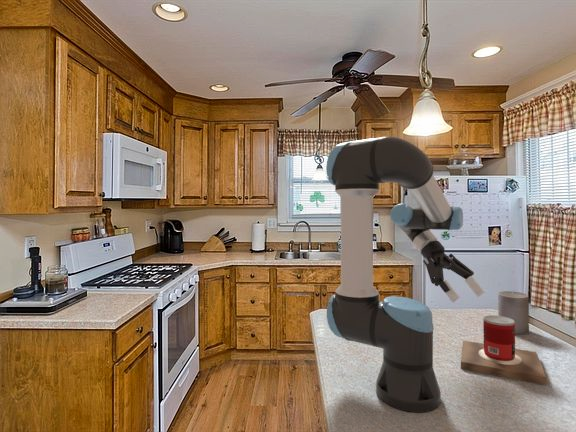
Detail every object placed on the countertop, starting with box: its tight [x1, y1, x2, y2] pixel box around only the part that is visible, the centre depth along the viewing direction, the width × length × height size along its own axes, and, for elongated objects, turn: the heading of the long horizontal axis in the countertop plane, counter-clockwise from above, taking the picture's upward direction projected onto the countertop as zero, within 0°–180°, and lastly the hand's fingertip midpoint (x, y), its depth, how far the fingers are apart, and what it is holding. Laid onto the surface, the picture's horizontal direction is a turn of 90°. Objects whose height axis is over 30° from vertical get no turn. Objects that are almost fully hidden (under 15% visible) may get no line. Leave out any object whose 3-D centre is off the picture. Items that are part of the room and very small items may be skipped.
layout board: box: [460, 340, 547, 386], centre depth 103 cm, size 20×18×2 cm
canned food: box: [483, 314, 516, 361], centre depth 102 cm, size 8×8×11 cm
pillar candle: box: [497, 290, 530, 335], centre depth 130 cm, size 10×10×15 cm
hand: (469, 297), depth 111 cm, fingers open, 13 cm apart
